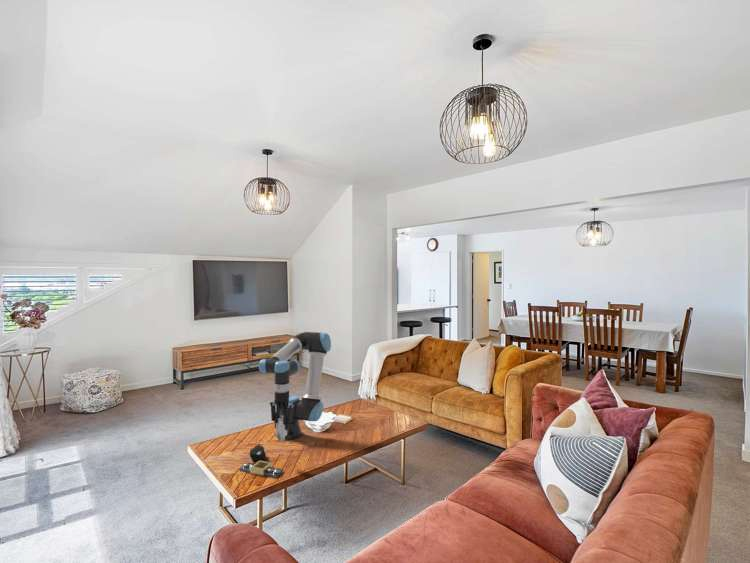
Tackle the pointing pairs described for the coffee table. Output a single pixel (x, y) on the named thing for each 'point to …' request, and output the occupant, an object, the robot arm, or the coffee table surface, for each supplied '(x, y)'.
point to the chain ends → (261, 469)
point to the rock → (257, 453)
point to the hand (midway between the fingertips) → (281, 434)
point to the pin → (280, 428)
